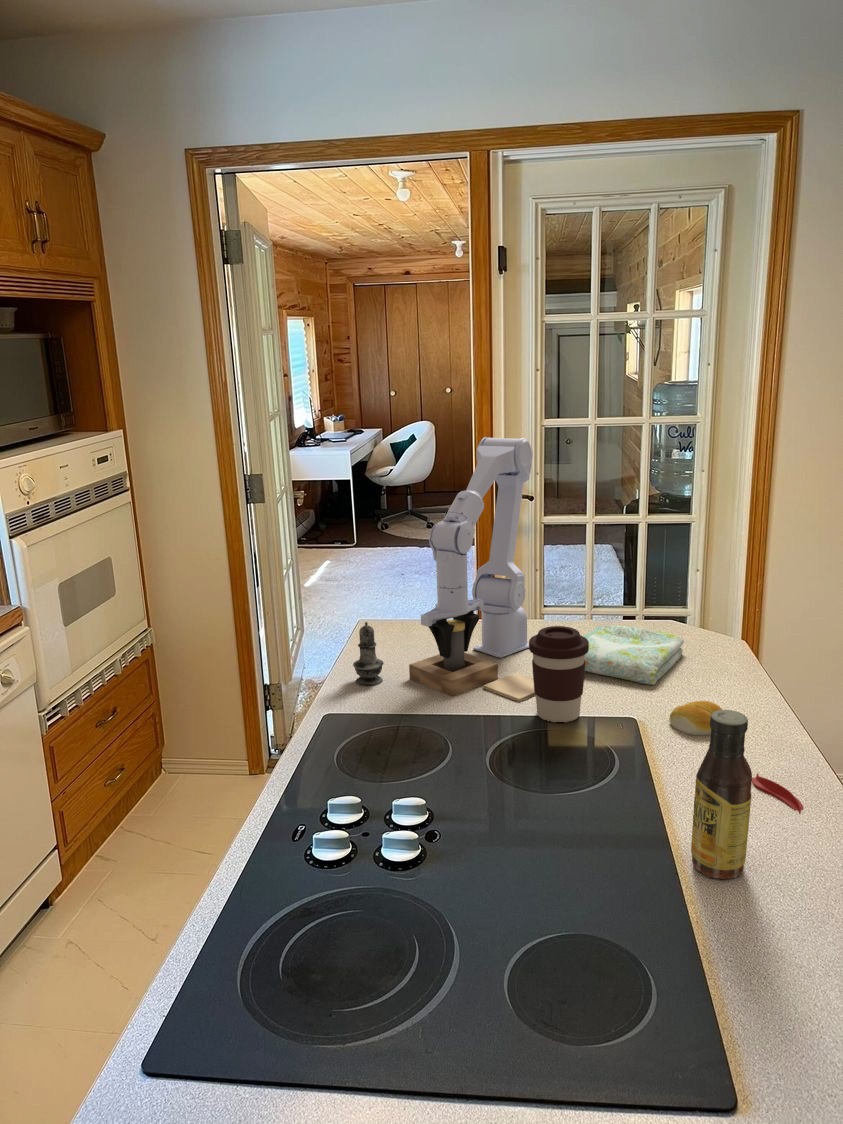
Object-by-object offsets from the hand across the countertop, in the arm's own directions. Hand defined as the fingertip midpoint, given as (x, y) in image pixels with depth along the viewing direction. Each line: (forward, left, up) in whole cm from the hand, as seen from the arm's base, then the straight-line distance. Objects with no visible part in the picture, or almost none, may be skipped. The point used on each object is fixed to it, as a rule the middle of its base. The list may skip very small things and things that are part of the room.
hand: (453, 653), depth 163 cm
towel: (-30, +18, -6) cm, 35 cm away
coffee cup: (-1, +25, -5) cm, 26 cm away
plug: (0, 0, -4) cm, 4 cm away
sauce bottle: (+20, +67, -5) cm, 70 cm away
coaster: (-5, +12, -5) cm, 14 cm away
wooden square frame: (0, 0, -5) cm, 5 cm away
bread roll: (-14, +44, -6) cm, 46 cm away
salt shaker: (+12, -11, -5) cm, 17 cm away
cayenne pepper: (-2, +63, -6) cm, 63 cm away
